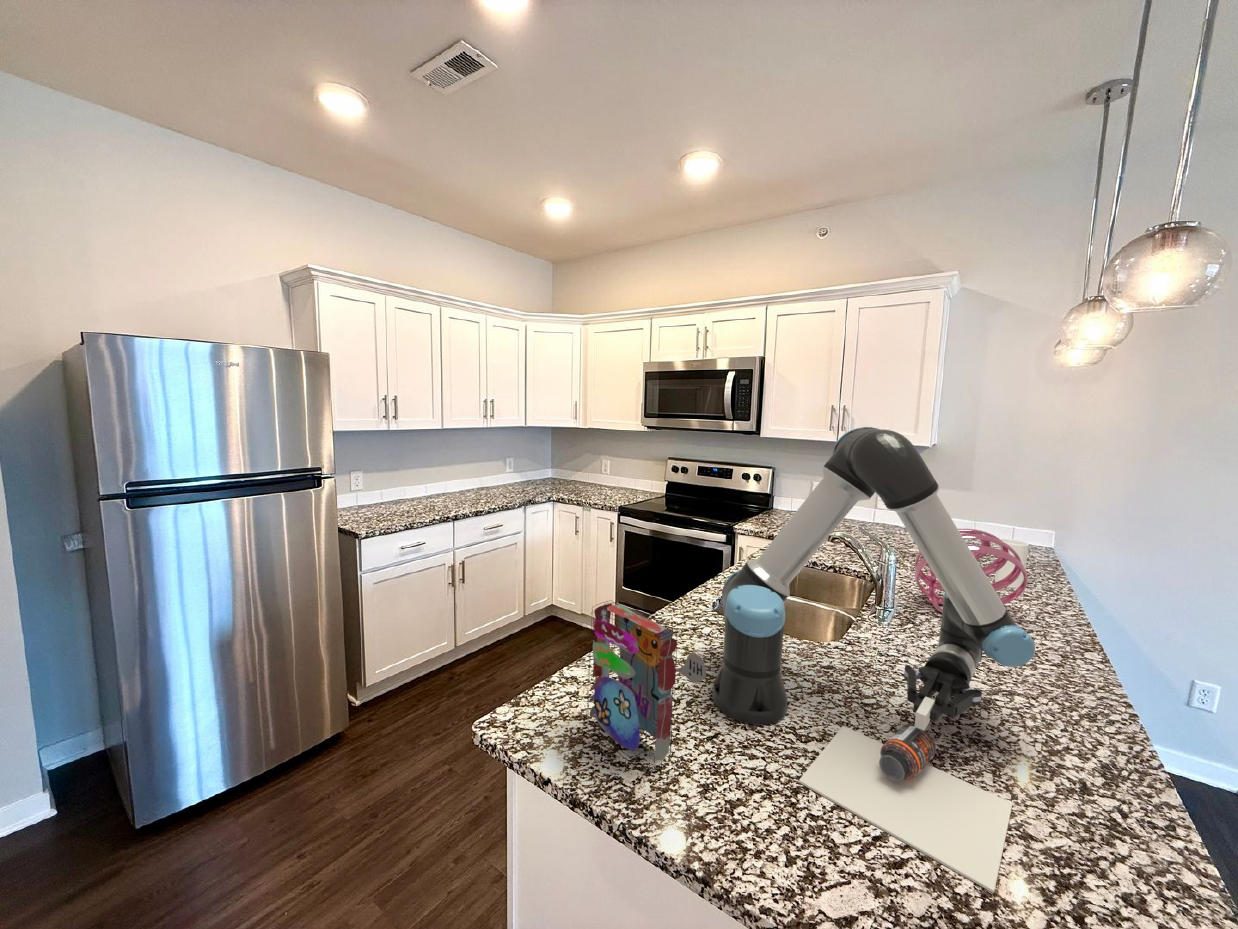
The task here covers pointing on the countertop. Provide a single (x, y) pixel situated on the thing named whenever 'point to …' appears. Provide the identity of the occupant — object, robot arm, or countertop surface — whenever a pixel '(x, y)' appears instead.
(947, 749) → the countertop surface
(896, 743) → the supplement bottle
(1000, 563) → the spiral basket
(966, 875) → the mat
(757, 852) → the countertop surface
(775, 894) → the countertop surface
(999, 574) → the cup
